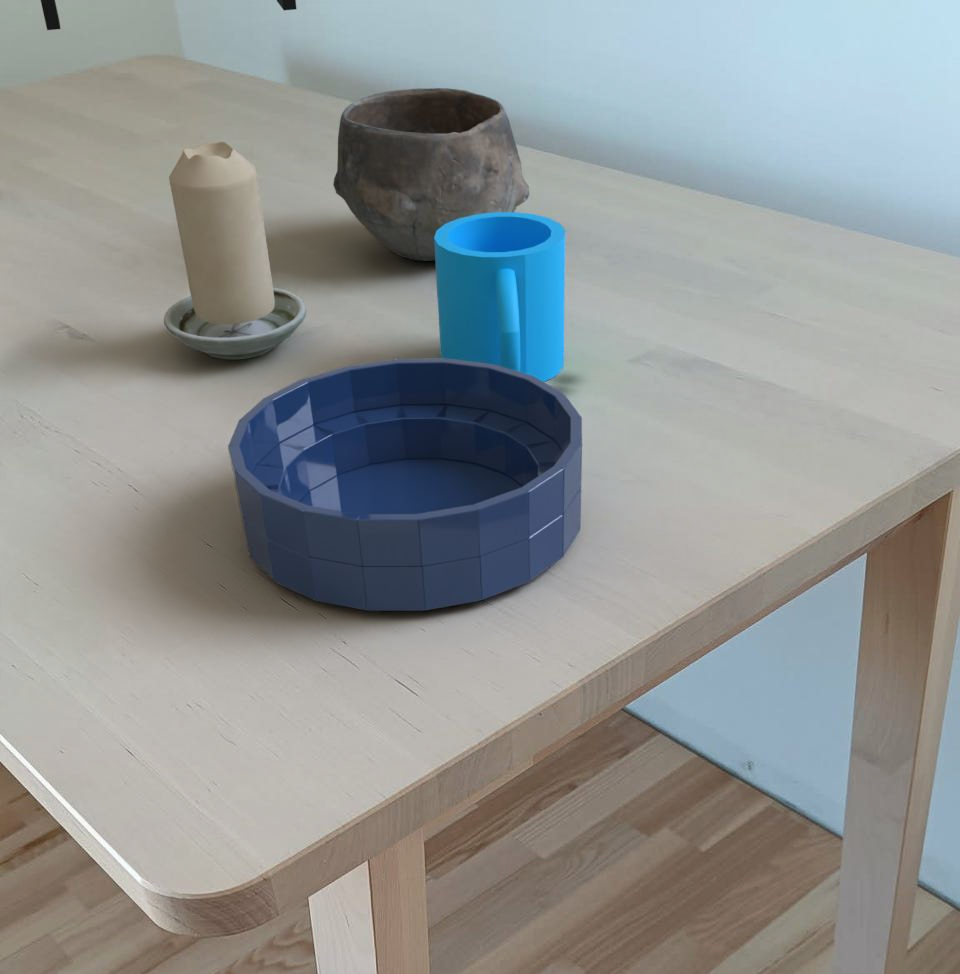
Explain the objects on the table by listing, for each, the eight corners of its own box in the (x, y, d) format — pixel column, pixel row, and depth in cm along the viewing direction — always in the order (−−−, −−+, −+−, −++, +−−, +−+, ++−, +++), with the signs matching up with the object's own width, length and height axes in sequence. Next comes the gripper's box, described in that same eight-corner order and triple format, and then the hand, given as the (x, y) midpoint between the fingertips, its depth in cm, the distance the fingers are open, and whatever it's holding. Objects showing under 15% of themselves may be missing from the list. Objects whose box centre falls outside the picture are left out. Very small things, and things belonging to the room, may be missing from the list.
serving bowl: (228, 476, 75) (211, 385, 71) (525, 429, 78) (524, 339, 74) (273, 647, 62) (255, 546, 58) (627, 583, 65) (632, 484, 61)
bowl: (384, 296, 94) (371, 146, 87) (316, 234, 104) (300, 95, 97) (553, 262, 98) (554, 116, 91) (472, 205, 108) (467, 70, 101)
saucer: (287, 377, 84) (281, 341, 82) (149, 371, 86) (141, 335, 84) (326, 320, 91) (321, 285, 89) (198, 315, 92) (191, 281, 91)
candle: (261, 327, 84) (236, 162, 77) (183, 324, 85) (151, 160, 78) (285, 295, 88) (263, 135, 81) (209, 293, 89) (181, 134, 82)
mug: (439, 342, 87) (432, 215, 82) (557, 335, 88) (558, 208, 82) (446, 420, 79) (438, 284, 73) (577, 412, 79) (579, 276, 73)
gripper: (-204, -521, 55) (-51, 48, 70) (361, -526, 59) (393, 10, 74) (-187, -508, 60) (-48, 19, 75) (332, -513, 65) (367, -15, 79)
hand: (171, 15), depth 75 cm, fingers open, 13 cm apart
